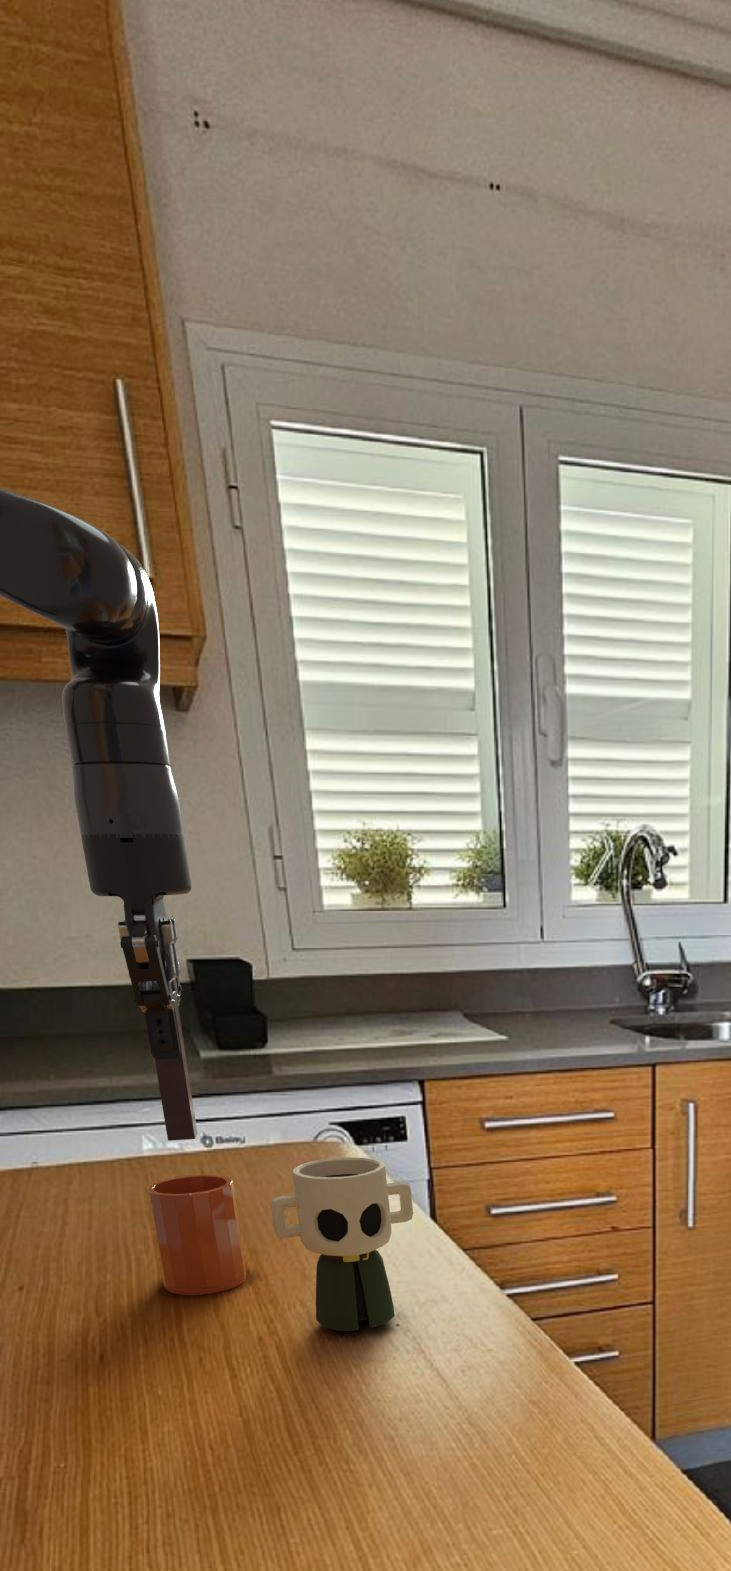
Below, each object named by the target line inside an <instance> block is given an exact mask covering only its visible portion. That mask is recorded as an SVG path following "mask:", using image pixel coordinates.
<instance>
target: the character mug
mask: <svg viewBox="0 0 731 1571" xmlns="http://www.w3.org/2000/svg"><path fill="white" fill-rule="evenodd" d="M292 1172H293V1173H292V1178H293V1179H292V1180H293V1187H294V1194H288V1195H279V1196H276V1197H274V1198H272V1199H271V1204H270V1208H271V1209H270V1210H271V1216H272V1224H273V1231H274V1233H275V1235H276V1238H280V1239H289V1238H296V1237H300V1242H302V1244H303V1246H304V1248H305V1249H306V1250H308V1251H309V1252H311V1253H315V1254H319V1257H318V1260H317V1262H316V1272H315V1273H316V1274H315V1319H316V1321H317V1322H318V1323H319V1324H320V1325H321V1327H323V1328H325V1329H329V1330H333V1331H337V1332H340V1331H343V1332H344V1331H346V1332H348V1331H351V1332H353V1331H355V1332H356V1331H359V1330H360V1329H359V1326H360V1325H359V1321H363V1320H368V1324H369V1328H370V1329H371V1328H376V1327H379V1326H382V1325H385V1324H387V1323H389V1322H390V1321H391V1320H392V1319H393V1318H394V1317H395V1307H394V1302H393V1296H392V1293H391V1287H390V1283H389V1279H388V1274H387V1271H386V1267H385V1263H384V1258H383V1256H382V1255H381V1253H380V1252H379V1251H378V1249H380V1248H383V1247H384V1246H385V1245H387V1244H388V1243H390V1239H391V1236H392V1225H393V1224H400V1223H401V1224H402V1223H407V1222H409V1221H411V1220H413V1216H414V1209H413V1208H414V1207H413V1196H412V1188H411V1186H410V1183H409V1182H407V1181H397V1182H388V1180H387V1171H386V1166H385V1162H383V1161H381V1160H379V1159H376V1158H369V1157H358V1156H357V1157H355V1156H353V1157H351V1156H345V1157H329V1158H324V1159H318V1160H317V1159H316V1160H313V1161H309V1162H305V1163H302V1164H299V1165H298V1166H296V1167H294V1168H293V1171H292ZM387 1182H388V1183H387ZM395 1195H399V1205H400V1206H399V1207H400V1210H397V1211H391V1209H390V1199H389V1196H395ZM290 1208H291V1209H292V1208H296V1211H297V1220H298V1223H297V1224H296V1223H295V1224H290V1225H288V1223H287V1218H286V1209H290Z"/></svg>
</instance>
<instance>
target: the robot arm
mask: <svg viewBox="0 0 731 1571" xmlns="http://www.w3.org/2000/svg"><path fill="white" fill-rule="evenodd" d="M0 597H1V598H3V599H6V600H7V601H10V602H12V603H13V604H16V605H18V606H19V607H21V608H23V609H26V610H27V611H30V612H31V613H34V614H35V615H38V616H40V617H42V618H44V619H47V620H48V621H50V622H52V623H54V624H56V625H57V626H61V627H62V628H64V629H65V633H66V640H67V647H68V657H69V665H70V666H69V668H70V680H69V681H68V682H67V683H66V684H65V685H64V688H63V690H62V692H61V693H62V694H61V705H62V715H63V722H64V726H65V733H66V738H67V743H68V749H69V754H70V761H71V764H72V765H73V766H72V767H71V768H72V775H73V776H72V778H73V795H74V803H75V810H76V816H77V822H78V827H79V833H80V837H81V838H80V839H81V845H82V849H83V855H84V860H85V861H84V862H85V866H86V871H87V877H88V882H89V888H90V891H91V892H92V893H93V894H94V895H95V896H97V897H118V898H120V899H121V900H122V901H123V914H124V920H123V921H118V922H117V927H118V933H119V940H120V942H119V944H120V949H122V952H123V955H124V956H123V957H124V960H125V963H126V967H127V972H128V977H129V979H130V983H131V986H132V990H133V994H134V996H133V999H134V1002H135V1003H136V1006H137V1007H139V1009H140V1010H141V1012H142V1013H144V1018H145V1023H146V1030H147V1036H148V1041H149V1047H150V1053H151V1056H152V1058H156V1059H172V1058H177V1057H178V1056H179V1055H180V1053H181V1050H180V1044H179V1038H178V1032H177V1025H176V1019H175V1013H174V1006H176V1004H175V1000H173V993H172V991H176V997H177V1004H178V1007H179V1006H180V1002H181V1000H182V999H181V993H182V991H183V990H182V988H183V987H182V985H181V982H180V974H181V972H182V971H181V964H180V957H179V952H178V946H177V940H178V938H179V933H178V927H177V921H176V919H175V918H168V915H167V911H166V906H165V902H164V897H165V896H177V895H187V894H189V893H190V892H191V890H192V881H191V873H190V866H189V859H188V853H187V848H186V839H185V834H184V826H183V820H182V813H181V806H180V800H179V796H178V791H177V788H176V785H175V781H174V776H173V774H172V767H171V766H170V765H171V760H170V754H169V750H168V748H169V747H168V742H167V734H166V729H165V723H164V717H163V713H162V707H161V703H160V702H161V701H160V681H161V679H160V678H161V669H160V668H161V664H160V662H161V660H160V659H161V658H160V630H159V618H158V611H157V605H156V601H155V595H154V590H153V587H152V584H151V582H150V579H149V577H148V574H147V573H146V571H145V568H144V567H143V566H142V564H141V562H140V561H139V559H138V558H137V557H136V556H135V555H134V554H133V553H132V552H131V551H130V550H128V549H127V548H126V547H125V546H123V545H122V544H121V543H120V542H118V541H116V539H115V538H113V537H112V536H111V535H109V534H108V533H106V532H105V531H104V530H102V529H101V528H99V527H98V526H97V525H94V524H93V523H90V522H88V521H86V520H84V519H82V518H80V517H78V516H75V515H74V514H72V513H69V512H67V511H65V510H62V509H59V508H58V507H54V506H52V505H50V504H47V503H44V502H41V501H40V500H36V499H33V498H31V497H27V496H25V495H22V494H19V493H16V492H13V491H10V490H7V489H4V488H1V487H0ZM179 1017H180V1018H181V1016H180V1015H179ZM180 1023H181V1021H180ZM181 1024H182V1023H181ZM181 1030H182V1031H183V1029H182V1028H181ZM182 1036H183V1037H184V1035H183V1034H182ZM183 1043H184V1044H185V1042H184V1040H183Z"/></svg>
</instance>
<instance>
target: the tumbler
mask: <svg viewBox="0 0 731 1571" xmlns="http://www.w3.org/2000/svg"><path fill="white" fill-rule="evenodd" d="M146 1194H147V1199H148V1205H149V1211H150V1218H151V1223H152V1229H153V1234H154V1239H155V1240H154V1241H155V1245H156V1252H157V1257H158V1262H159V1268H160V1274H161V1279H162V1282H163V1286H164V1289H165V1291H167V1292H169V1293H171V1294H175V1295H181V1296H201V1295H211V1294H216V1293H221V1292H225V1291H228V1290H231V1289H234V1288H236V1287H239V1286H240V1285H242V1284H244V1283H245V1281H246V1280H247V1266H246V1260H245V1253H244V1247H243V1239H242V1232H241V1226H240V1218H239V1213H238V1206H237V1199H236V1192H235V1186H234V1180H233V1179H232V1178H230V1177H229V1176H224V1175H219V1174H190V1175H182V1176H174V1177H169V1178H166V1179H162V1180H161V1179H160V1180H158V1181H156V1182H153V1183H151V1184H149V1185H148V1186H147V1188H146Z"/></svg>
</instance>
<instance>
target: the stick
mask: <svg viewBox="0 0 731 1571" xmlns="http://www.w3.org/2000/svg"><path fill="white" fill-rule="evenodd" d="M172 993H173V1000H175V1004H176V1006H174V1013H175V1019H176V1025H177V1032H178V1038H179V1044H180V1050H181V1053H180V1055H179V1056H178V1057H177V1058H172V1059H156V1058H154V1057H153V1058H154V1064H155V1070H156V1077H157V1082H158V1083H157V1084H158V1089H159V1094H160V1100H161V1107H162V1113H163V1118H164V1124H165V1125H164V1126H165V1131H166V1138H167V1141H169V1142H171V1141H185V1140H195V1139H196V1138H197V1135H198V1128H197V1120H196V1114H195V1107H194V1100H193V1095H192V1088H191V1081H190V1076H189V1070H188V1063H187V1057H186V1050H185V1042H184V1043H183V1041H184V1035H183V1029H182V1023H180V1022H181V1016H180V1009H179V1006H178V1004H177V997H176V991H172ZM179 1016H180V1017H179ZM181 1029H182V1030H181ZM182 1035H183V1036H182Z"/></svg>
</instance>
